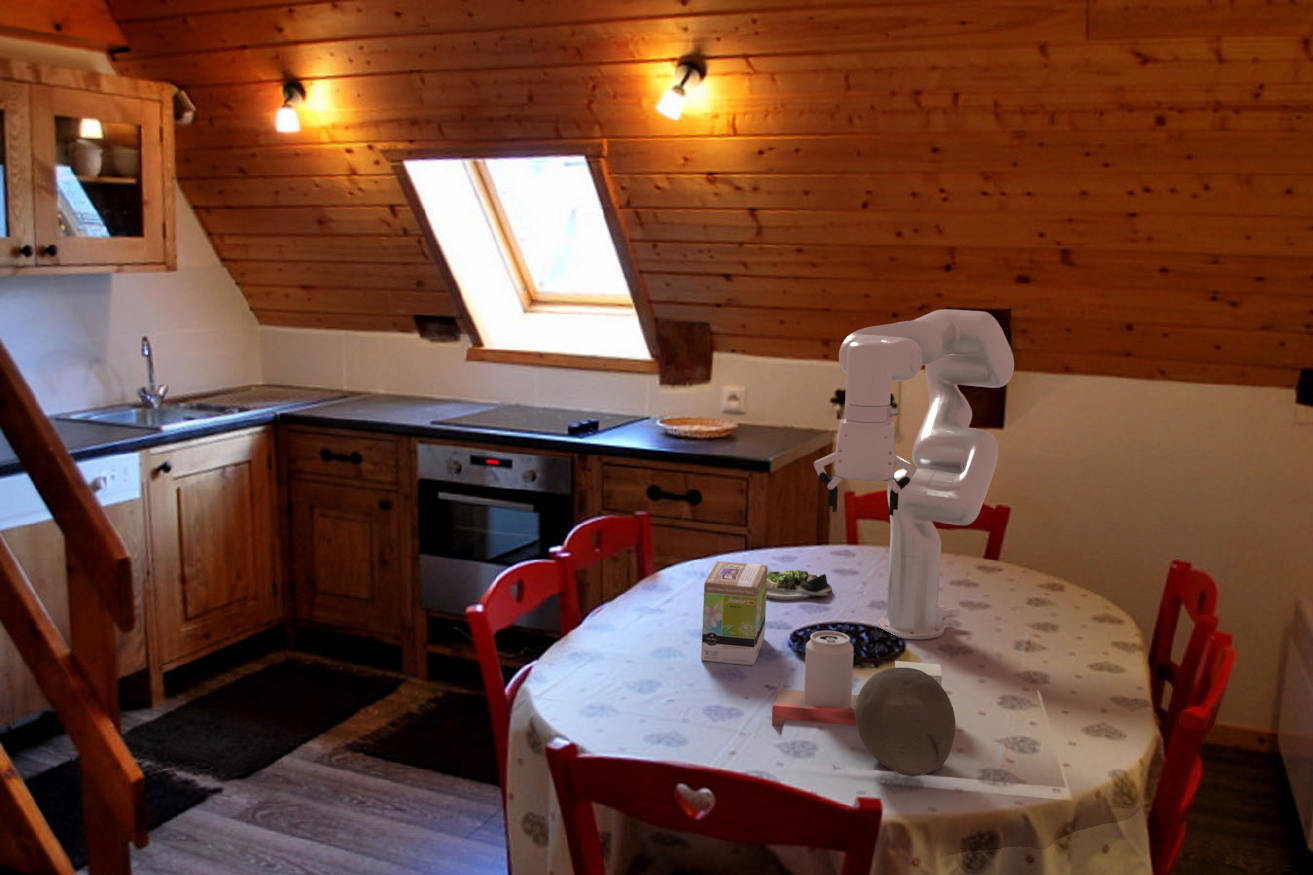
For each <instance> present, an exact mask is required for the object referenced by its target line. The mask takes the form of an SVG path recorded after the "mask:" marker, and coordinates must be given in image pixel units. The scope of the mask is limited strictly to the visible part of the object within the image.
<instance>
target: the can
mask: <svg viewBox="0 0 1313 875" xmlns="http://www.w3.org/2000/svg"><path fill="white" fill-rule="evenodd" d="M809 637H810V639H809V640H808V641H807V642H806V644H805V659H804V660H805V663H804V664H805V665H804V668H805V669H804V688H803V689H804V690H803V691H804V703H805V704H806V705H807V706H819V707H831V708H842V709H848V708H850V706H851V698H852V695H853V693H852V692H853V672H854V671H853V670H854V646H853V644H852V643H851V642H850V641H851V637H850V636H848V634H846V633H843V632H839V631H835V630H820V631H815V632H813V633H811V634H810V636H809Z"/></svg>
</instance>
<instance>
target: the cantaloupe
mask: <svg viewBox="0 0 1313 875" xmlns="http://www.w3.org/2000/svg"><path fill="white" fill-rule="evenodd" d="M952 704H953V703H952V702H951V699H950V697H949V695H948V693H947V692H946V690H944V688H943V687H942V684H941V685H940V684H939V683H938V682H937V681H936V680H935V679H934V678H933V677H931V676H930V675H928V674H926V673H925V672H923V671H921V670H917V669H913V668H895V667H889V668H886V669H883V670H881V671H879V672H877V673H875V674H874V675H872V676H871V677H869V679H868V680H866V682H865V683H864V685H863V686H862V688H861V689H860V691H859V694H858V698H857V700H856V708H855V719H856V724H857V725H856V728H857V730H858V734H859V737H860V739H861V742H862V744H863V745H864V747H865V748H866V749H867V750H868V751H869V753H871V755H872V756H873V758H875V759H876V760H877V761H878V762H879V764H882V765H883V766H884V767H886V768H887V769H889V770H891V771H893V772H895V773H897V774H900V775H902V776H907V777H913V778H914V777H920V776H925V775H928V774H930V773H933V772H934V771H937V770H938V769H939V768H941V767H942V766H943V765H944V764H945V763H946V761H947V760H948V758H949V756H950V754H951V751H952V747H953V745H954V744H953V743H954V740H955V735H956V717H955V710H954V707H953V705H952Z"/></svg>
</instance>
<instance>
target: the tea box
mask: <svg viewBox="0 0 1313 875" xmlns="http://www.w3.org/2000/svg"><path fill="white" fill-rule="evenodd" d="M767 572H768V565H767V564H758V563H746V562H744V563H743V562H735V561H733V562H732V561H719V560H716V562H715V564H714V566H713V568H712V569H711V571H710V573H709V575H708V576H707V578H706V580H705V581H704V585H703V586H704V588H703V607H702V608H703V609H702V611H703V612H702V630H701V631H702V632H701V647H700V648H701V652H700V653H701V654H700V660H701V661H706V662H710V663H711V662H713V663H719V664H720V663H723V664H731V665H732V664H733V665H744V666H754V664H755V662H756V660H757V658H758V656H759V653H760V650H761V647H762V644H763V642H764V639H765V633H766V631H765V630H766V612H767V597H766V594H767Z"/></svg>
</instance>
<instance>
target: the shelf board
mask: <svg viewBox="0 0 1313 875" xmlns="http://www.w3.org/2000/svg"><path fill="white" fill-rule="evenodd" d="M858 695H859V694H858ZM858 695H857V694H852V698H851V706H850V708H848V709H842V708H831V707H819V706H807V705H806V704H805V703H804V690H799V689H788V688H787V689H786V688H779V689H778V692H777V697H776V700H775V702H772V707H771V708H772V709H771V710H772V711H771V712H772V713H771V725H772V726H780V727H781V726H782V727H784V726H785V720H794V721H804V722H814V723H815V722H816V723H826V724H837V725H849V726H857V724H856V719H855V708H856V700H857V698H858Z"/></svg>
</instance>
